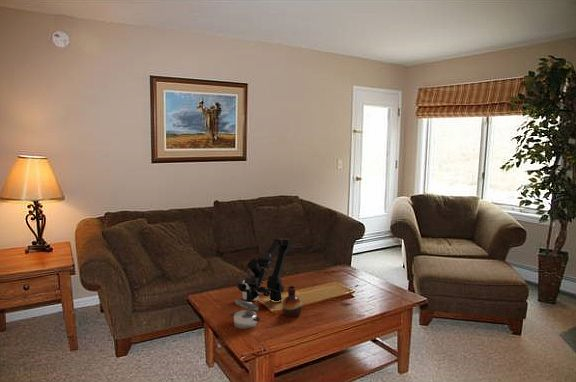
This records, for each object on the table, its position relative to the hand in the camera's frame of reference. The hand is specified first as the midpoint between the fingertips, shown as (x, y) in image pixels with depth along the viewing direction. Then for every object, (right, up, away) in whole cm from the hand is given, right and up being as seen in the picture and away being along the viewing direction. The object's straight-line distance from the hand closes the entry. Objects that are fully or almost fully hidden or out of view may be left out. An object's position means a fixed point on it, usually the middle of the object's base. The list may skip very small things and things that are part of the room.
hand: (247, 304), depth 210 cm
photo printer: (-1, -6, +31) cm, 31 cm away
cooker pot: (-1, -10, -1) cm, 10 cm away
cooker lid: (0, -1, -1) cm, 1 cm away
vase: (+24, -8, +9) cm, 27 cm away
